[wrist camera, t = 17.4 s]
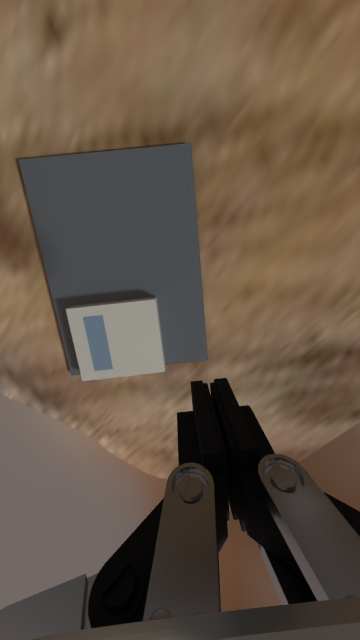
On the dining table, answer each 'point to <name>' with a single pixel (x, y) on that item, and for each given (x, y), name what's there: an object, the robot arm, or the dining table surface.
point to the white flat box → (117, 338)
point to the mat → (122, 237)
